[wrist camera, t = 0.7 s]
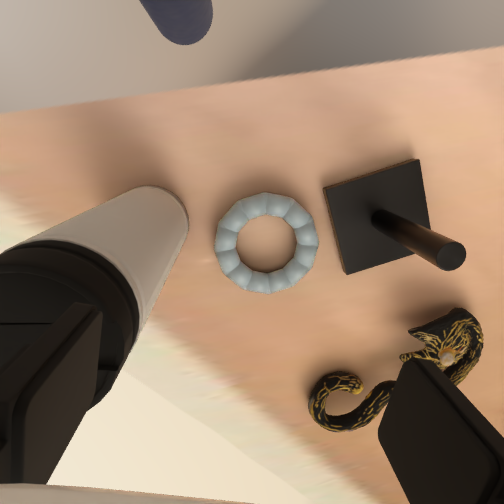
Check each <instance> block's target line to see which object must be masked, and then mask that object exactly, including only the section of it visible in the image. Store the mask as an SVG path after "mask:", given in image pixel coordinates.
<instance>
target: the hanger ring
mask: <svg viewBox="0 0 504 504" xmlns="http://www.w3.org/2000/svg"><path fill="white" fill-rule="evenodd" d="M265 214H266V215H271V216H276V217H281V218H283V219H284V220H285V221H286V222H287V223H288V224H289V225H290V226H292V227H293V229H294V232H295V236H296V239H297V246H296V250H295V254H294V257H293V258H292V259H291V260H290V261H289V262H288V263H287V265H286V266H285V267H284V268H283V269H280V270H276V271H273V272H270V273H263V272H257V271H252V270H251V269H250V268H248V267H247V266H246V265H245V264H244V263H242V262H241V261H240V258H239V256H238V253H237V250H236V247H235V246H236V242H237V237H238V232H239V231H240V230H241V229H242V227H243V226H244V225H245V224H246V223H247V222H248V221H249V220H250V219H253V218H256V217H259V216H262V215H265ZM318 245H319V239H318V236H317V232H316V228H315V225H314V221H313V218H312V216H311V215H310V214H309V213H308V212H307V211H306V210H305V209H304V208H303V207H302V206H301V205H300V204H298V203H297V202H296V201H295V200H294V199H293V198H291V197H287V196H282V195H278V194H273V193H268V192H262V193H259V194H256V195H253V196H250V197H247V198H244V199H241V200H239V201H237V202H236V203H235V204H234V205H233V206H232V207H231V208H230V210H229V211H228V212H227V213H226V214H225V215H224V216H223V217H222V219H221V220H220V221H219V223H218V228H217V233H216V239H215V244H214V251H215V254H216V256H217V259H218V262H219V264H220V267H221V270H222V272H223V273H224V274H225V275H226V276H227V277H228V278H229V279H231V280H232V281H233V282H234V283H236V284H237V285H238V286H239V287H241V288H242V289H244V290H248V291H254V292H259V293H265V294H271V293H274V292H277V291H280V290H284V289H287V288H290V287H293V286H294V285H295V284H296V283H297V282H298V281H299V280H300V279H301V278H302V277H303V276H304V275H305V274H306V273H307V272H308V271H309V270H310V269H311V268H312V266H313V263H314V259H315V256H316V252H317V249H318Z"/></svg>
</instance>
